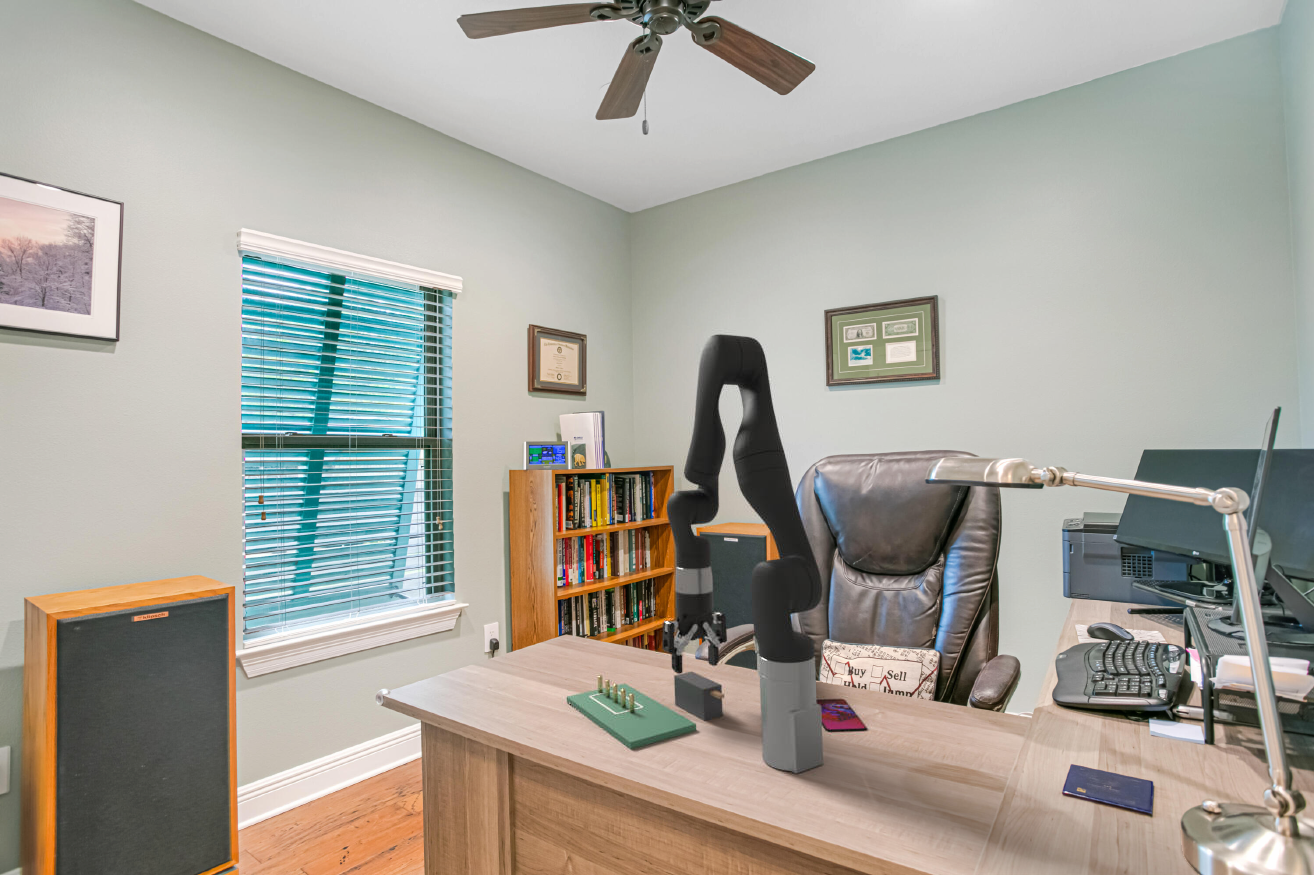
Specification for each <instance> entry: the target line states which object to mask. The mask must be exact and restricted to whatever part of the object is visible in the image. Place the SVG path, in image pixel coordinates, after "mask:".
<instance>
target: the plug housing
mask: <svg viewBox="0 0 1314 875" xmlns="http://www.w3.org/2000/svg"><path fill="white" fill-rule="evenodd" d="M673 677H674V678H673V679H674V705H675V706H677V707H678V708H680V709H682V710H683V711H685V712H687V713H689V714H691V715H693V716H695V717H696V718H698V719H700V720H702V721H703V722H706V721H708V720H712V719H716V718H719V717H723V715H724V714H723V699H724V698H725V694H724V693H722V689H723V688H722V686H723V685H722V684H721V683H718V682H716V681H714V680H711V679H710V678H707V677H705V676H703V675H700V674H698V673H696V672H694V671H688V672H684V673H683V672H682V673H680V674H676V675H674V676H673Z"/></svg>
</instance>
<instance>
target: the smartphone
mask: <svg viewBox="0 0 1314 875" xmlns="http://www.w3.org/2000/svg"><path fill="white" fill-rule="evenodd" d="M816 703H817V704H819V705H820V706H821V716H822V729H824V730H825V732H828V733H835V732H836V733H837V732H840V733H843V732H844V733H845V732H864V731H867V726H866V725H865V723H863V721H862V720H861V719H860V717H859V716H858V714H857V713H856V712H855V711H854V709H853V708H852V707H851V705H849V704H850V703H848V702H847V700H846V699H844V698H828V699H827V698H824V699H818V698H816Z"/></svg>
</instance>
